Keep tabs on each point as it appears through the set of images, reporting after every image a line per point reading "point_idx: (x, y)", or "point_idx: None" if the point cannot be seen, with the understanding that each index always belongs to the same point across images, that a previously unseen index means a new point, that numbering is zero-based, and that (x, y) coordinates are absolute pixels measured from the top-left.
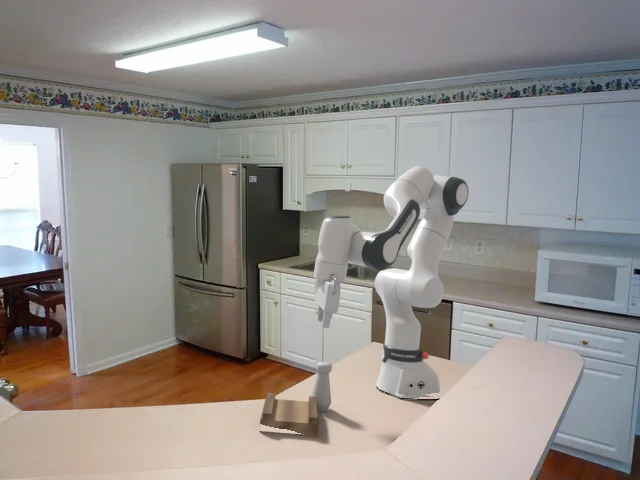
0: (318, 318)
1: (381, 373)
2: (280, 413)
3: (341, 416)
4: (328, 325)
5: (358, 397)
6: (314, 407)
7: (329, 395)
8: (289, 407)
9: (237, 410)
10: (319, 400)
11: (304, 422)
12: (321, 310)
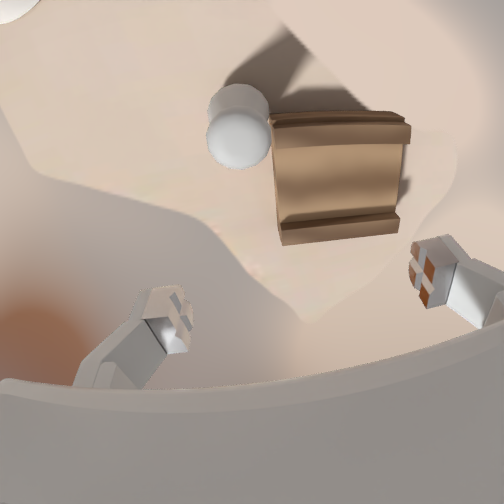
0: (190, 328)
1: (3, 2)
2: (363, 199)
3: (266, 52)
4: (453, 246)
5: (105, 28)
6: (354, 130)
7: (250, 92)
8: (325, 185)
9: (298, 268)
10: (268, 116)
11: (399, 147)
12: (132, 367)
